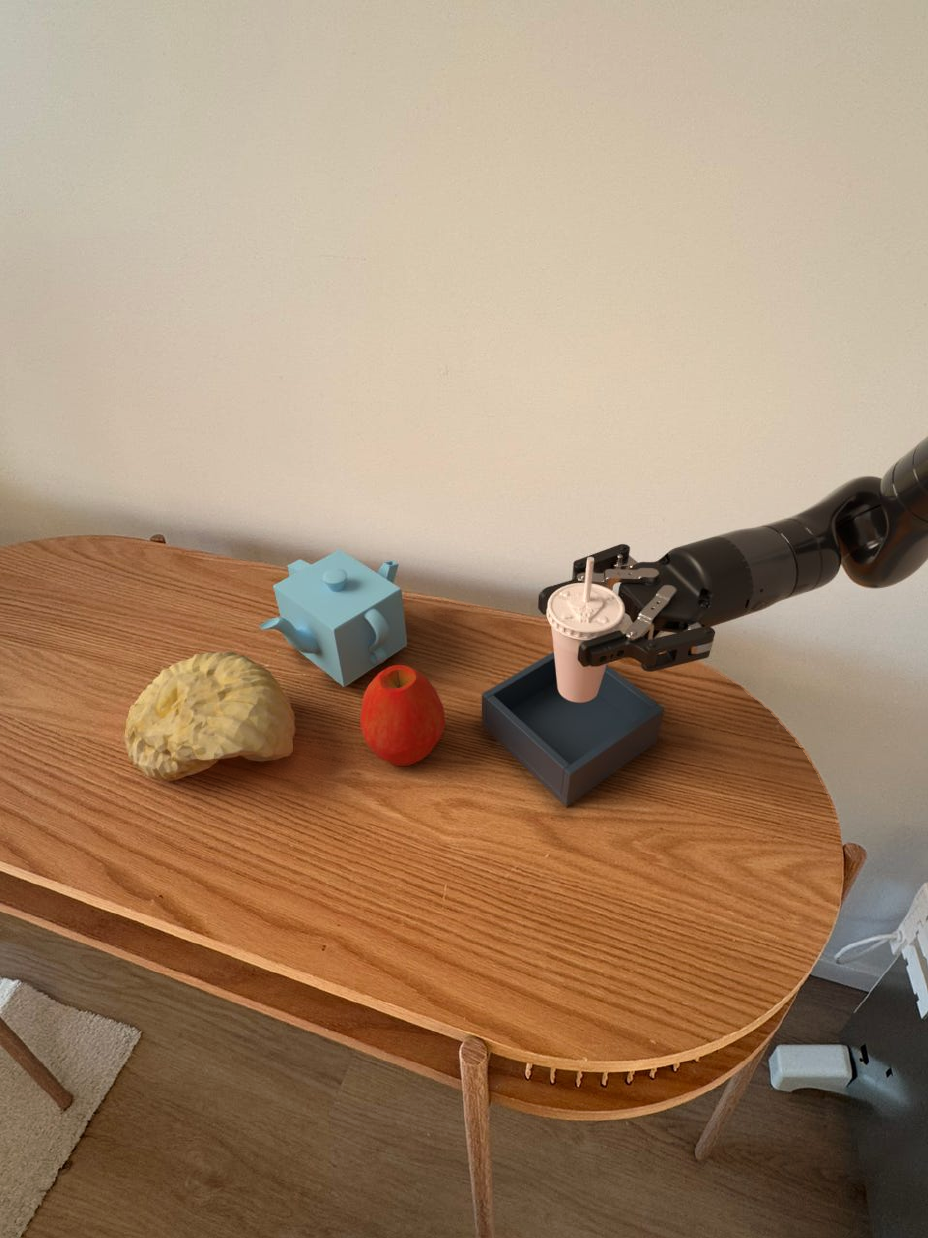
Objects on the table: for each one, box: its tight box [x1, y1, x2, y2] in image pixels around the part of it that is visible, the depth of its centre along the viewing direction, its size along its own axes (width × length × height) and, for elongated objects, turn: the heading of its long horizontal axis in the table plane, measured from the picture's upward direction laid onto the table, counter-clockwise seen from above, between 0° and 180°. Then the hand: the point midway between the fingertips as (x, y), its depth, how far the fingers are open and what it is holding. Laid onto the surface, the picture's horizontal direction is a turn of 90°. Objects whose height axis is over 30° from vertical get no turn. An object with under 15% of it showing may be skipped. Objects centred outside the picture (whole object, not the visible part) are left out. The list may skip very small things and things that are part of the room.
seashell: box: [123, 651, 296, 782], centre depth 71 cm, size 17×11×15 cm
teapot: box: [259, 549, 408, 688], centre depth 81 cm, size 16×18×11 cm
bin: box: [481, 651, 666, 808], centre depth 73 cm, size 13×13×5 cm
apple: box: [359, 664, 446, 767], centre depth 70 cm, size 8×8×11 cm
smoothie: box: [546, 557, 626, 703], centre depth 61 cm, size 6×6×14 cm
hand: (560, 628), depth 60 cm, fingers closed on smoothie, 6 cm apart
